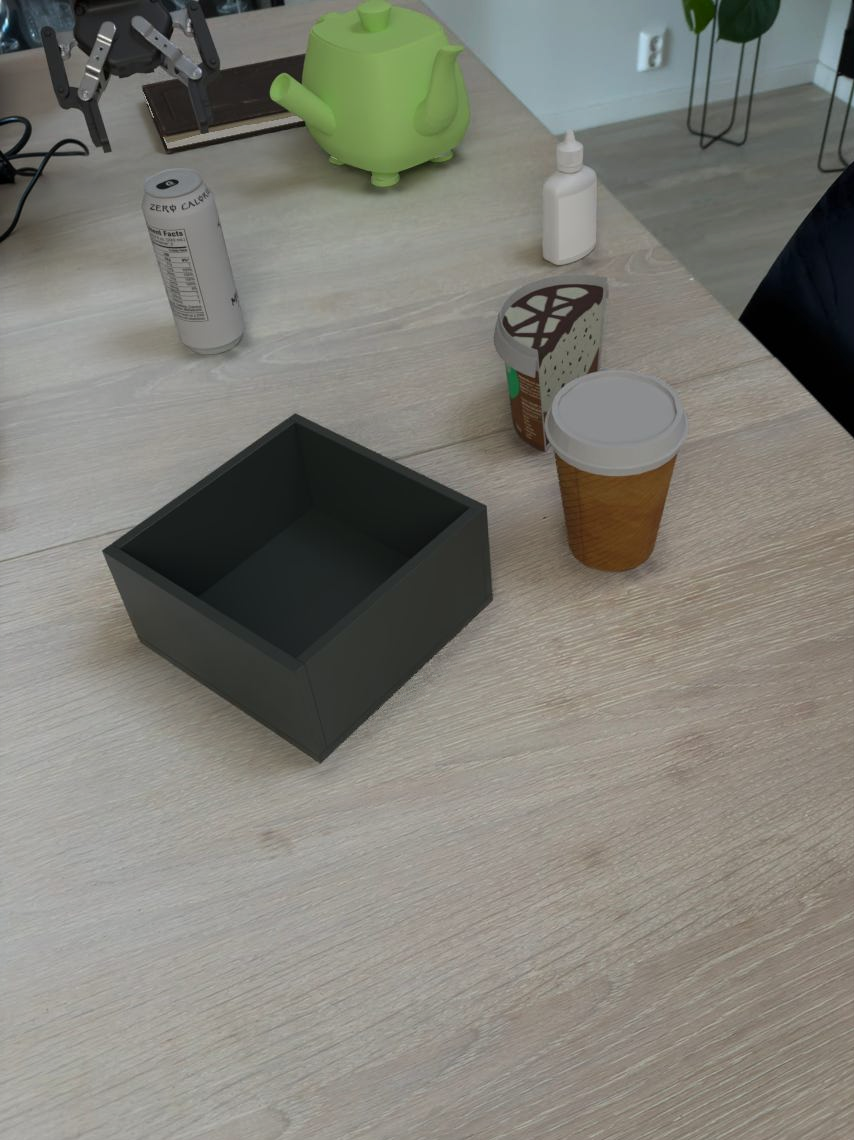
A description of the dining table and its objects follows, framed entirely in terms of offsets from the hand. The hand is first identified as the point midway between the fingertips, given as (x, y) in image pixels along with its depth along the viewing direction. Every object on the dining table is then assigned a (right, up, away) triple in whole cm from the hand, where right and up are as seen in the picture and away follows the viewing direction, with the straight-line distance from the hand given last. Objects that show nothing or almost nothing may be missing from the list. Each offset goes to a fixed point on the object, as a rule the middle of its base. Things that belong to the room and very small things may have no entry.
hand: (156, 139), depth 98 cm
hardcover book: (0, +21, +40) cm, 45 cm away
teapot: (+17, +8, +27) cm, 33 cm away
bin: (+17, -42, -19) cm, 49 cm away
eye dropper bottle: (+37, -6, +13) cm, 39 cm away
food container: (+33, -25, -4) cm, 41 cm away
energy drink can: (+4, -16, +6) cm, 18 cm away
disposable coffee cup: (+38, -37, -15) cm, 55 cm away
